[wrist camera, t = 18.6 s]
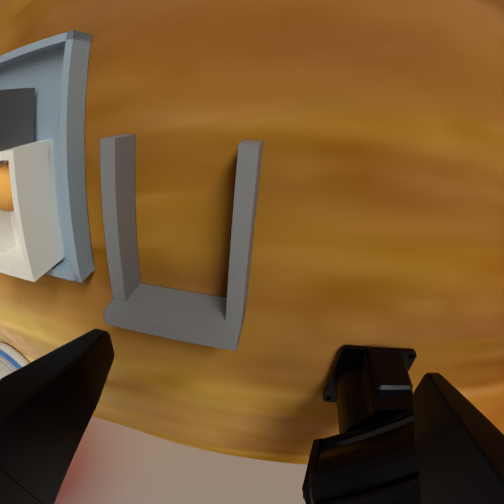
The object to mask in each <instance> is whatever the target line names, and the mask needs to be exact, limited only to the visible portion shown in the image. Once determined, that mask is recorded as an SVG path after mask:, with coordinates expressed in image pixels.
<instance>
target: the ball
mask: <svg viewBox="0 0 504 504" xmlns="http://www.w3.org/2000/svg"><path fill="white" fill-rule="evenodd" d="M0 209H1V210H3V211H6V212H12V211H14V207H13V200H12V192H11V183H10V174H9V162H8V163H5V164H3V165H2V166H0Z"/></svg>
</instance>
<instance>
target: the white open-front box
mask: <svg viewBox="0 0 504 504" xmlns="http://www.w3.org/2000/svg"><path fill="white" fill-rule="evenodd" d="M34 103H35V88H18V89H5V90H0V166H2V165H3V164H5V163H8V162H9V174H10V183H11V192H12V200H13V207H14V211H12V212H6V211H3V210H1V209H0V272H1V273H4V274H7V275H11V276H14V277H18V278H21V279H25V280H29V281H32V282H35V281H36V280H38V279H39V278H40V277H41V276H42V275H43V274H45V273H46V272H47V271H48V270H50V269H51V268H52V267H53V266H54V265H56V264H57V263H58V262H59V261H61V260H62V259H63V258H64V257H65V253H64V247H63V241H62V235H61V228H60V221H59V214H58V205H57V196H56V186H55V173H54V156H53V140H43V141H35V140H34Z"/></svg>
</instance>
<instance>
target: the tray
mask: <svg viewBox="0 0 504 504" xmlns="http://www.w3.org/2000/svg"><path fill="white" fill-rule="evenodd" d="M91 36H92V35H91V34H87V33H83V32H79V31H75V30H73V31H70V32H66V33H63V34H59V35H56V36H53V37H49V38H46V39H43V40H40V41H37V42H35V43H32V44H29V45H26V46H24V47H21V48H18V49H16V50H13V51H11V52H9V53H6V54H4V55H1V56H0V90H5V89H18V88H35V103H34V140H35V141H43V140H53V156H54V173H55V186H56V196H57V205H58V214H59V221H60V228H61V235H62V241H63V247H64V253H65V257H64V258H63V259H62V260H61V261H59V262H58V263H57V264H56V265H54V266H53V267H52V268H51V269H50V270H48V271H47V272H46V273H45V274H46V275H50V276H55V277H59V278H63V279H67V280H71V281H75V282H80V283H82V282H83V281H84V280H85V279H86V278H87V277H88V276H89V275H90V274H91V273H92V272H93V271H94V270H95V268H94V262H93V255H92V247H91V239H90V231H89V221H88V210H87V197H86V181H85V149H84V129H85V99H86V83H87V71H88V60H89V51H90V43H91Z"/></svg>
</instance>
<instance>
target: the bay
mask: <svg viewBox="0 0 504 504" xmlns="http://www.w3.org/2000/svg"><path fill="white" fill-rule="evenodd" d="M262 149H263V141H255V140H244V141H242V142H240V143H239V145H238V157H237V168H236V180H235V192H234V205H233V217H232V231H231V244H230V258H229V273H228V288H227V298H226V297H219V296H213V295H206V294H200V293H194V292H188V291H182V290H176V289H170V288H164V287H159V286H153V285H148V284H142V283H140V274H139V262H138V248H137V232H136V209H135V134H120V135H115V136H110V137H106V138H101V139H100V165H101V192H102V209H103V222H104V233H105V243H106V252H107V261H108V268H109V276H110V283H111V289H112V295H113V300H112V301H111V302H110V304H109V305H108V306H107V307H106V308H105V310H104V311H103V314H104V319H105V324H108V325H112V326H116V327H120V328H124V329H128V330H133V331H137V332H141V333H145V334H150V335H154V336H159V337H164V338H168V339H173V340H178V341H183V342H188V343H194V344H199V345H205V346H210V347H216V348H222V349H228V350H234V351H237V348H238V343H239V339H240V334H241V330H242V325H243V321H244V316H245V311H246V302H247V292H248V283H249V273H250V263H251V254H252V244H253V235H254V225H255V216H256V206H257V197H258V187H259V177H260V168H261V158H262Z"/></svg>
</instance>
